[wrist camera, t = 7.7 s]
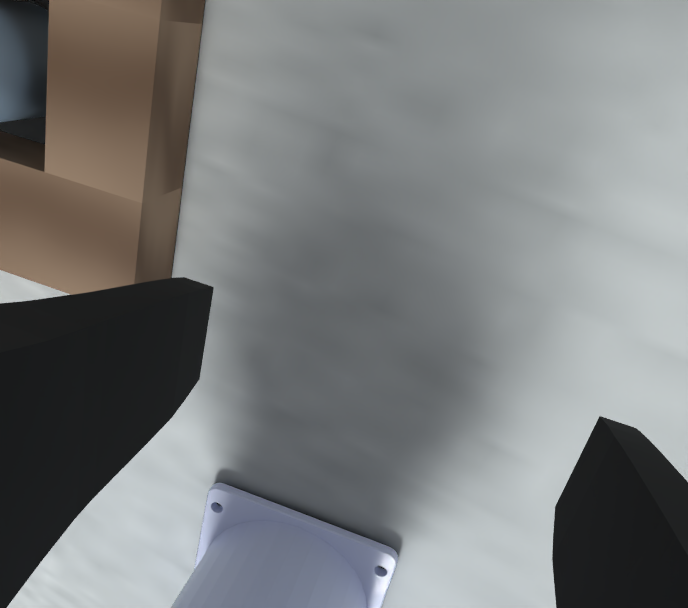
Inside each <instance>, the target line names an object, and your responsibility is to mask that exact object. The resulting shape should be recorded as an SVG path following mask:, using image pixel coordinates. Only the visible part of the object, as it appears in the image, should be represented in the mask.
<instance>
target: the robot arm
mask: <svg viewBox="0 0 688 608" xmlns="http://www.w3.org/2000/svg"><path fill="white" fill-rule="evenodd" d="M213 288H214V287H211V286H208V285H205V284H202V283H199V282H196V281H193V280H190V279H187V278H184V277H183V278H168V279H161V280H154V281H148V282H142V283H137V284H131V285H126V286H120V287H115V288H109V289H104V290H98V291H93V292H87V293H80V294H73V295H67V296H60V297H53V298H46V299H39V300H32V301H23V302H13V303H2V304H0V608H7V606H8V605H9V603H10V602H11V601H12V599H13V598H14V597H15V595H16V594H17V593H18V591H19V590H20V589H21V587H22V586H23V585H24V583H25V582H26V581H27V579H28V578H29V577H30V575H31V574H32V573H33V571H34V570H35V569H36V567H37V566H38V565H39V563H40V562H41V561H42V560H43V558H44V557H45V556H46V555H47V553H48V552H49V551H50V549H51V548H52V547H53V546H54V544H55V543H56V542H57V541H58V539H59V538H60V537H61V536H62V534H63V533H64V532H65V531H66V529H67V528H68V527H69V525H70V524H71V523H72V522H73V520H74V519H75V518H76V517H77V516H78V514H79V513H80V512H81V511H82V510H83V509H84V508H85V507H86V506H87V504H88V503H89V502H90V501H91V500H92V499H93V498H94V497H95V496H96V495H97V494H98V493H99V492H100V491H101V490H102V489H103V488H104V487H105V486H106V485H107V484H108V483H109V482H110V480H111V479H112V478H113V477H114V476H115V475H116V474H117V473H118V472H119V471H120V470H121V469H122V468H123V467H124V466H125V465H126V464H127V463H128V462H129V461H130V460H131V459H132V458H133V457H134V456H135V455H136V454H137V453H138V452H139V451H140V450H141V449H142V448H143V447H144V446H145V445H146V444H147V443H148V442H149V441H150V440H151V439H152V438H153V437H154V436H155V435H156V433H157V432H158V431H159V430H160V429H161V428H162V427H163V426H164V425H165V424H166V423H167V422H168V421H169V420H170V419H171V418H172V416H173V415H174V414H175V412H176V411H177V410H178V408H179V407H180V406H181V404H182V403H183V402H184V400H185V399H186V397H187V396H188V395H189V393H190V392H191V390H192V389H193V387H194V386H195V385H196V383H197V382H198V380H199V378H200V371H201V365H202V358H203V352H204V346H205V339H206V333H207V326H208V320H209V313H210V307H211V301H212V294H213ZM217 503H219V504H221V506H219V505H217ZM552 559H553V572H554V584H555V595H556V607H557V608H688V482H687V481H686V480H685V479H684V477H683V476H682V475H681V474H680V473H679V472H678V471H677V470H676V469H675V468H674V466H673V465H672V464H671V463H670V462H669V461H668V460H667V459H666V458H665V456H664V455H663V454H662V453H661V452H660V451H659V450H658V449H657V448H656V447H655V446H654V445H653V444H652V443H651V442H650V441H649V440H648V439H647V438H646V437H645V436H644V435H643V434H642V433H641V432H640V431H639V430H638V429H636V428H634V427H631V426H628V425H625V424H622V423H619V422H616V421H613V420H610V419H607V418H604V417H601V416H600V417H599V419H598V421H597V423H596V425H595V427H594V429H593V431H592V433H591V435H590V437H589V439H588V441H587V443H586V445H585V447H584V449H583V451H582V453H581V455H580V458H579V460H578V462H577V464H576V466H575V468H574V470H573V472H572V474H571V476H570V478H569V480H568V482H567V484H566V486H565V488H564V490H563V492H562V494H561V496H560V498H559V500H558V502H557V504H556V506H555V520H554V534H553V557H552ZM397 562H398V555H397V553H396V551H395V550H394V549H392V548H391V547H389V546H386V545H384V544H381V543H378V542H376V541H373V540H370V539H368V538H365V537H363V536H360V535H357V534H355V533H352V532H349V531H347V530H344V529H342V528H339V527H336V526H334V525H331V524H329V523H326V522H323V521H321V520H318V519H315V518H313V517H310V516H308V515H305V514H302V513H300V512H297V511H295V510H292V509H289V508H287V507H284V506H281V505H279V504H276V503H274V502H271V501H268V500H266V499H263V498H261V497H258V496H255V495H253V494H250V493H247V492H245V491H242V490H240V489H237V488H234V487H232V486H229V485H226V484H224V483H215V484H214V485H213V486H212V487H211V488H210V490H209V492H208V495H207V501H206V506H205V512H204V518H203V523H202V529H201V534H200V540H199V546H198V551H197V557H196V562H195V568H194V572H193V573H192V575H191V576H190V578H189V580H188V581H187V583H186V584H185V586H184V587H183V589H182V591H181V592H180V594H179V595H178V597H177V598H176V600H175V602H174V603H173V605H172V606H171V608H381V607H382V604H383V601H384V598H385V596H386V593H387V590H388V588H389V585H390V582H391V579H392V577H393V574H394V571H395V569H396V566H397ZM378 566H382V567H384V568H385V569H381V568H379V567H378Z"/></svg>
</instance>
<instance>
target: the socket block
mask: <svg viewBox="0 0 688 608" xmlns="http://www.w3.org/2000/svg"><path fill="white" fill-rule="evenodd" d="M204 5H205V0H49V25H48V62H47V98H46V135H45V145H44V144H41V143H38V142H34V141H31V140H28V139H25V138H21V137H18V136H15V135H12V134H9V133H5V132H2V131H0V270H2V271H5V272H8V273H11V274H14V275H17V276H20V277H23V278H25V279H28V280H31V281H34V282H37V283H40V284H43V285H46V286H48V287H51V288H54V289H57V290H60V291H63V292H66V293H69V294H71V295H73V294H80V293H87V292H93V291H98V290H104V289H109V288H115V287H120V286H126V285H131V284H137V283H142V282H148V281H154V280H161V279H168V278H171V274H172V266H173V258H174V249H175V241H176V233H177V225H178V217H179V209H180V201H181V192H182V184H183V176H184V168H185V160H186V152H187V144H188V136H189V127H190V119H191V111H192V103H193V95H194V87H195V79H196V70H197V62H198V54H199V46H200V38H201V30H202V22H203V14H204Z"/></svg>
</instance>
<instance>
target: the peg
mask: <svg viewBox="0 0 688 608" xmlns="http://www.w3.org/2000/svg"><path fill="white" fill-rule="evenodd" d="M48 25H49V12H48V11H47V10H46V9H44V8H42V7H40V6H38V5H36V4H33V3H29V2H22V1H13V0H0V122H6V121H14V120H22V119H30V118H37V117H45V116H46V98H47V62H48Z"/></svg>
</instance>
